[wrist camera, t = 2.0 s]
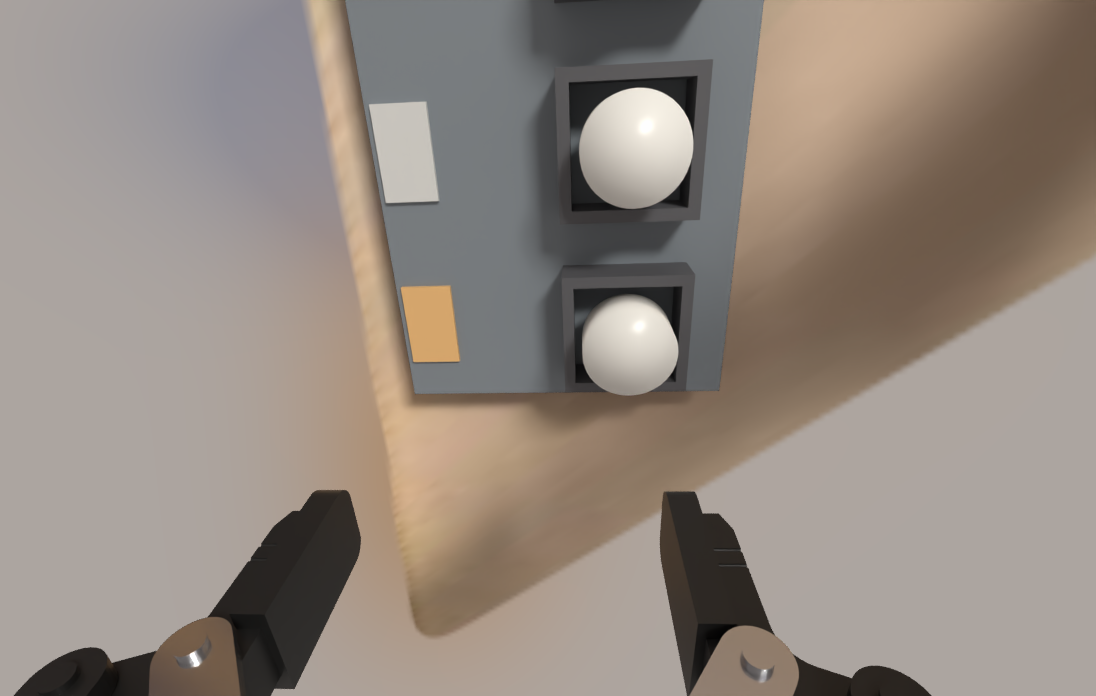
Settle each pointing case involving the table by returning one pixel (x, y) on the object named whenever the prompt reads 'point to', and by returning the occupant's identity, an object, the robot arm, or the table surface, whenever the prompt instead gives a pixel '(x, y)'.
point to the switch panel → (549, 179)
